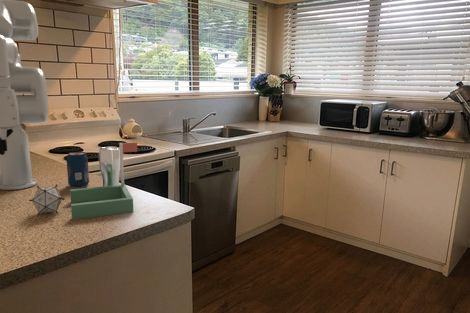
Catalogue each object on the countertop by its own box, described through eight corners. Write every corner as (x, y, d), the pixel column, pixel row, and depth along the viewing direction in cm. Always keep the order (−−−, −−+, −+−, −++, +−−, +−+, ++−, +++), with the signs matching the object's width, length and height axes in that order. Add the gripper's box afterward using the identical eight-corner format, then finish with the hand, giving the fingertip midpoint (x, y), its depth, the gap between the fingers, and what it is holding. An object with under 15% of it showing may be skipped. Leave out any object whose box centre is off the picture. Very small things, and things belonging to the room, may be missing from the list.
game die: (51, 227, 104) (46, 207, 97) (26, 214, 105) (19, 194, 98) (72, 204, 110) (68, 184, 103) (48, 192, 111) (43, 172, 104)
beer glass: (109, 194, 122) (107, 150, 119) (96, 191, 126) (93, 148, 123) (126, 189, 128) (124, 147, 125) (112, 186, 132) (110, 145, 128)
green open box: (72, 219, 100) (67, 155, 96) (70, 201, 114) (66, 145, 111) (148, 210, 109) (146, 150, 105) (138, 194, 123) (136, 142, 119)
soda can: (68, 184, 133) (66, 151, 131) (89, 182, 136) (86, 150, 134) (68, 189, 127) (65, 155, 125) (89, 187, 130) (87, 154, 127)
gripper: (-47, 83, 87) (-37, 158, 90) (25, 84, 93) (31, 154, 96) (-39, 83, 93) (-30, 153, 97) (27, 84, 100) (33, 150, 103)
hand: (0, 154), depth 97 cm, fingers closed
